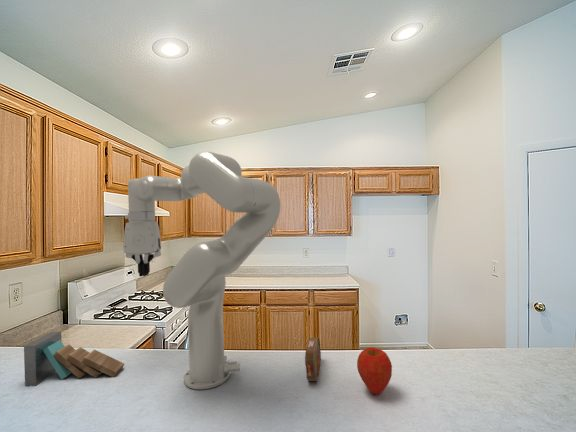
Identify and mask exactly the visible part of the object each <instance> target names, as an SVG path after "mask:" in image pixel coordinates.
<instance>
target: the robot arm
mask: <svg viewBox="0 0 576 432" xmlns="http://www.w3.org/2000/svg"><path fill="white" fill-rule="evenodd" d="M242 175H243V174H242V168H241V165H240V163H238V161H237V160H236V159H234V158H232V157H231V156H228V155H224V154H221V153H220V154H219V153H216V152H214V151H213V152H212V151H201V152H199V153H196V154H195V155H194V156H193V157H192V158H191V159H190V161H189V164H188V165H186V166H184V168H183V169H182V170H181V173H180V177H175V178H174V177H167V176H159V175H158V176H156V175H146V176H143V177H140V178H132V179H130V180H129V181H127V182H128V183H127V194H128V195H127V196H128V198H127V199H128V214H125V215H124V219H125V220H128V222H126V223H125V227H124V233H123V254H125V258H128V259H132V260H133V261H135V264H137V273H138V276H139V277H146V276H148V275H149V274H150V272H151V271H150V269H151V268H150V267H151V266H150V262H151V261H152V260H153V259H154V258H158V257H161V255H162V253H161V249H162V241H161V240H162V239H161V232H160V228H159V224H158V221H156V203H155V202H181V201H185V200H191V199H194V198H196V197H197V196H199V195H201V194H206V195H207V196H209V198H211V199H212V200H213V201H214V202H215V203H217V204H218V205H219V206H221V207H222V208H223V209H225V210H226V211H229V212H231V213H240V214H241V213H243V216H241V217H240V218H238V219H237V220H236V221H235V222H234V223H232V225H231V226H230V228H229V229H228V230H227V231H226V232H225V233H224V234H223V235H222V236H221V237H219V238H218V239H213V240H207V241H201V242H198V243H196V244H194V245H193V246H191V247H189V249H188V250H187V251H186V252H185V253H184V254H183V256H182V257H181V258H180V259H179V260H178V262H177V263H176V264H175V265H174V267H173V268H172V269H171V270H170V271H169V273H168V275H167V276H166V278H165V280H164V283H163V288H162V294H163V298H164V300H165V303H167V304H168V305H170V307H173V308H176V309H182V308H183V309H184V308H187V307H189V309H188V313H187V314H188V315H187V327H188V328H187V332H188V334H187V335H188V336H187V337H188V367H189V368H188V370H187V371H186V372H185V374H184V376H183V383H184V386H186V387H188V388H190V389H193V390H207V389H213V388H215V387H218V386H220V385H222V384H224V383H225V382H227V381H228V379H229V378H230V376H231V373H232V372H233V373H238V372H240V371H241V363H238V361H237V360H232V361H230V360H228V357H227V355H225V339H224V335H225V334H224V299H225V298H224V297H225V292H226V283H227V282H226V276H228V275H231V274H233V273H235V272H236V271H237V270H238V269H239V268H240V266H241V265H242V264H243V263H244V262H245V261H246V260H247V259H248V257H250V256H251V254H252V253H253V251H255V249H256V248H257V247H258V246H259V245H260V244H261V242H263V241H264V239H265V238H266V237H267V236H268V235H269V234H270V233H271V231H272V230H273V229H274V228H275V226H276V224H277V222H278V220H279V218H280V213H281V198H280V195H279V193H278V192H279V191H278V190H277V189H276V187H275V186H273V184H271V183H270V182H267V181H265V180H262V179H259V178H257V179H256V178H252V177H251V178H250V177H246V176H242Z"/></svg>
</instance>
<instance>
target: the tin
mask: <svg viewBox="0 0 576 432" xmlns="http://www.w3.org/2000/svg"><path fill="white" fill-rule="evenodd" d="M321 352H322V351H321V342H320V338H319V336H318V337H310V338H309V339H308V342H307V346H306V349H305V354H304V362H305V370H306V380H307V381H308V382H318V380H319V376H320V370H321V366H322V365H321V363H322V355H321V354H322V353H321Z"/></svg>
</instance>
